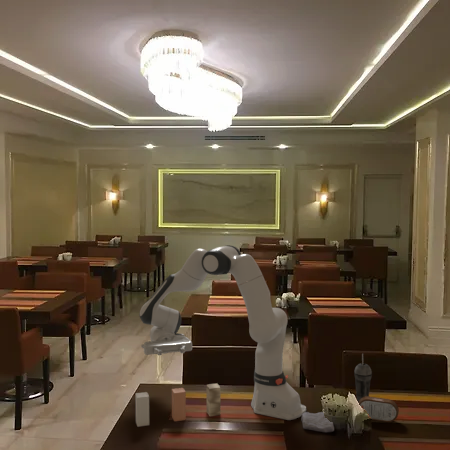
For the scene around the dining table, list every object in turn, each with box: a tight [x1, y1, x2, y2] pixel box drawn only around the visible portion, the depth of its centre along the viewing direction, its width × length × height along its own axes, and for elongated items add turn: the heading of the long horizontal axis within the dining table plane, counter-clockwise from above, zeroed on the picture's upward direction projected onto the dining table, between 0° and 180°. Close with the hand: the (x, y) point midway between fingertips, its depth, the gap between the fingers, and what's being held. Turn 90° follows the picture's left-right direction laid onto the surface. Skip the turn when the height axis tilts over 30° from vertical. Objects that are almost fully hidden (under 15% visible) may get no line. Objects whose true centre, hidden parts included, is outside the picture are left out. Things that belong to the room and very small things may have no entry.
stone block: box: [300, 411, 335, 433], centre depth 192 cm, size 12×5×10 cm
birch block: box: [206, 382, 221, 417], centre depth 203 cm, size 4×4×11 cm
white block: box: [135, 391, 150, 428], centre depth 194 cm, size 4×4×11 cm
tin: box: [357, 395, 400, 423], centre depth 198 cm, size 15×3×8 cm, turn 71°
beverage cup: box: [353, 353, 373, 402], centre depth 215 cm, size 7×7×20 cm
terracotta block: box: [171, 387, 187, 422], centre depth 198 cm, size 4×4×11 cm
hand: (171, 352), depth 209 cm, fingers open, 8 cm apart
